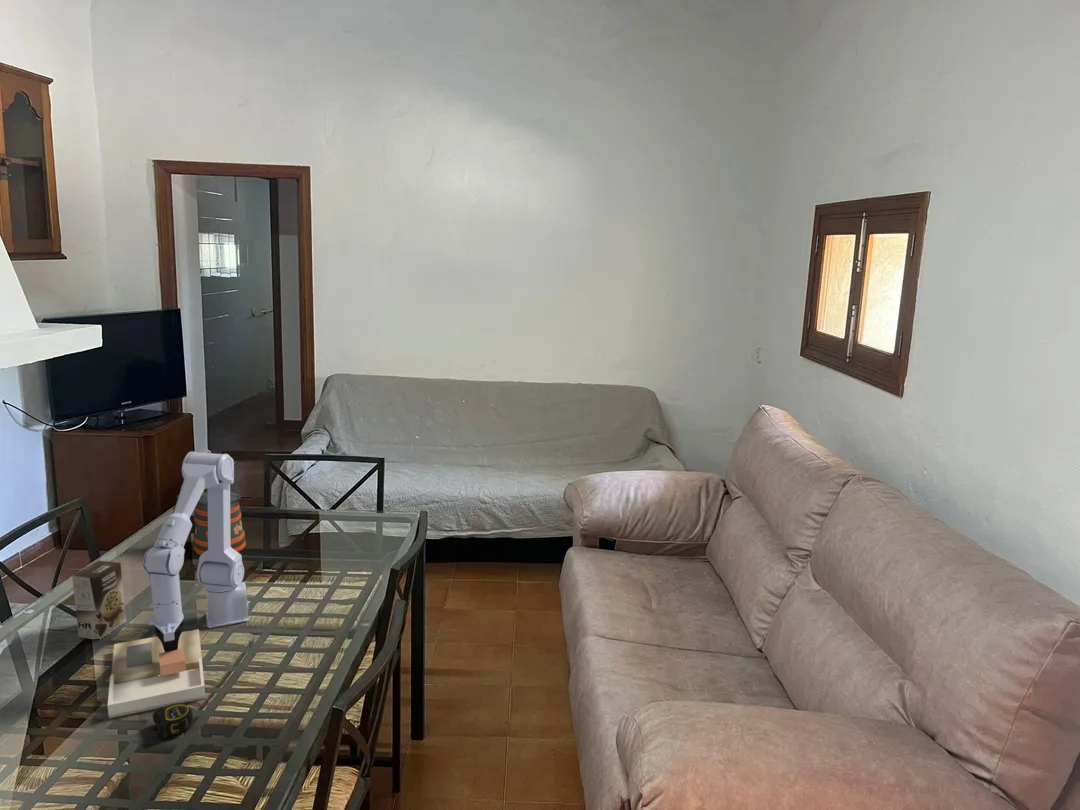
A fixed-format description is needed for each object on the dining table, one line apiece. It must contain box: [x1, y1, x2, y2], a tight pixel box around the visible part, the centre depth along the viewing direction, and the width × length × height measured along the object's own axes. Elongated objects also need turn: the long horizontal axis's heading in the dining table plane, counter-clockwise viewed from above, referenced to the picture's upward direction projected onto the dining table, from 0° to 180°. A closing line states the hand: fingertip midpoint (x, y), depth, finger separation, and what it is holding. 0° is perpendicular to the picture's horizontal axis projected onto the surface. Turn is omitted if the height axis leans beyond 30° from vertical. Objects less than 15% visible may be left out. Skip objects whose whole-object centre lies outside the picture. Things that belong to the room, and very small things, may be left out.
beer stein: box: [176, 483, 247, 556], centre depth 240 cm, size 19×15×20 cm
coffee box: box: [71, 560, 127, 641], centre depth 193 cm, size 9×6×16 cm
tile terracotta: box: [159, 649, 186, 676], centre depth 177 cm, size 5×5×2 cm
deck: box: [110, 628, 203, 684], centre depth 183 cm, size 18×15×2 cm
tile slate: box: [126, 642, 153, 668], centre depth 179 cm, size 5×5×2 cm
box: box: [107, 658, 206, 719], centre depth 170 cm, size 18×12×3 cm, turn 115°
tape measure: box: [152, 703, 194, 739], centre depth 159 cm, size 7×7×4 cm
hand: (171, 654), depth 179 cm, fingers closed
